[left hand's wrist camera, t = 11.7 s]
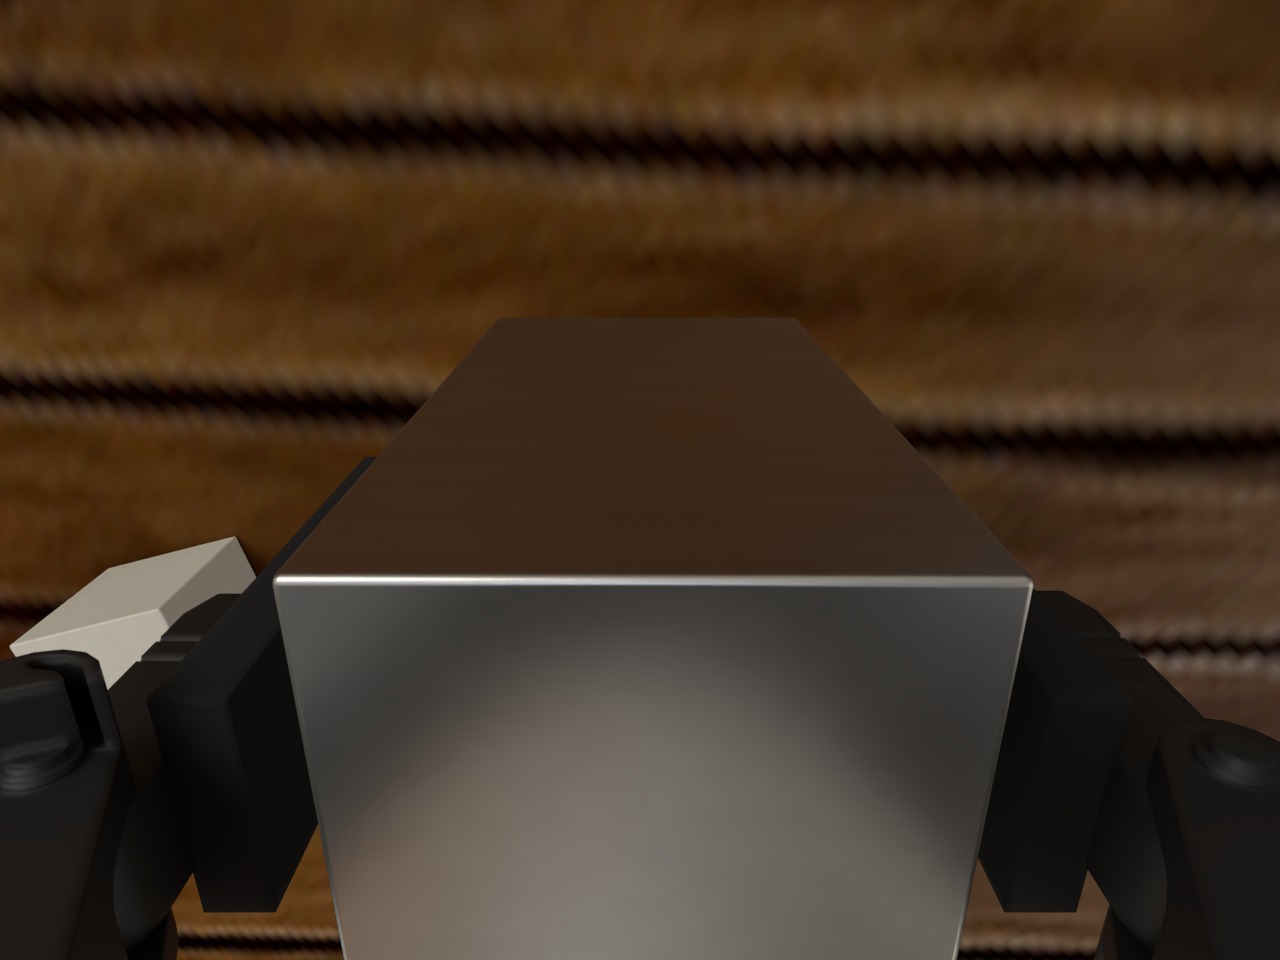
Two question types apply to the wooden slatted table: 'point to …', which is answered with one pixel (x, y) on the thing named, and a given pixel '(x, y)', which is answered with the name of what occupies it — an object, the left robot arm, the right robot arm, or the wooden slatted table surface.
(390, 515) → the beam
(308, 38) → the wooden slatted table surface
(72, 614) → the plastic block
